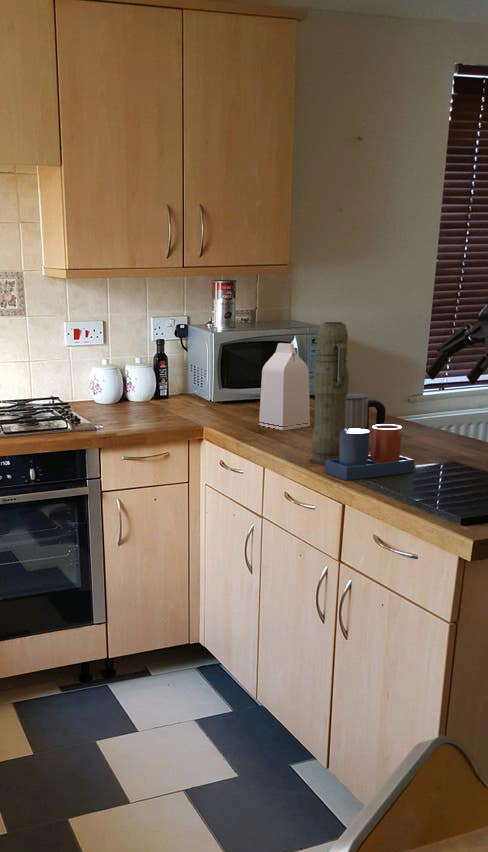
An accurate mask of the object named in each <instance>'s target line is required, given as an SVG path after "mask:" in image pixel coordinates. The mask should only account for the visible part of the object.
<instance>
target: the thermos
mask: <svg viewBox="0 0 488 852" xmlns="http://www.w3.org/2000/svg"><path fill="white" fill-rule="evenodd" d="M316 339H317V340H316V355H317V359H316V365H315V368H314V372H313V395H314V430H313V433H312V436H311V452H312V458H311V462H313V463H315V464H320V465H325V460H333V459H339V438H340V430H343V429H345V421H346V396H347V394H349V387H350V383H349V382H350V370H349V366H348V360H347V358H348V357H347V355H348V350H349V347H348V346H349V333H348V329H347V325H346V323H344V322H343V321H327V322H326V321H324V322H323V323H321V324H320V326H319V329H318V332H317V335H316Z"/></svg>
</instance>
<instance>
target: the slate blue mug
mask: <svg viewBox="0 0 488 852" xmlns="http://www.w3.org/2000/svg"><path fill="white" fill-rule="evenodd" d="M369 448H370V429H369V430H365V429H343V430H340V438H339V464H341V465H344V466H347V467H351V466H359V465H368V455H369V450H370V449H369Z"/></svg>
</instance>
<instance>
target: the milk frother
mask: <svg viewBox="0 0 488 852" xmlns="http://www.w3.org/2000/svg"><path fill="white" fill-rule="evenodd" d="M369 397H370V395H369V394H366V393H348V394H347V396H346V421H345V429H365V430H369V431H370V428H369V427H370V408H375V411H376V416H375V425H385V423H386V412H387V410H386V406H385V405H384V403H383V402H381V401H380V400H378V399H374V398H373V399H369Z"/></svg>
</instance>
